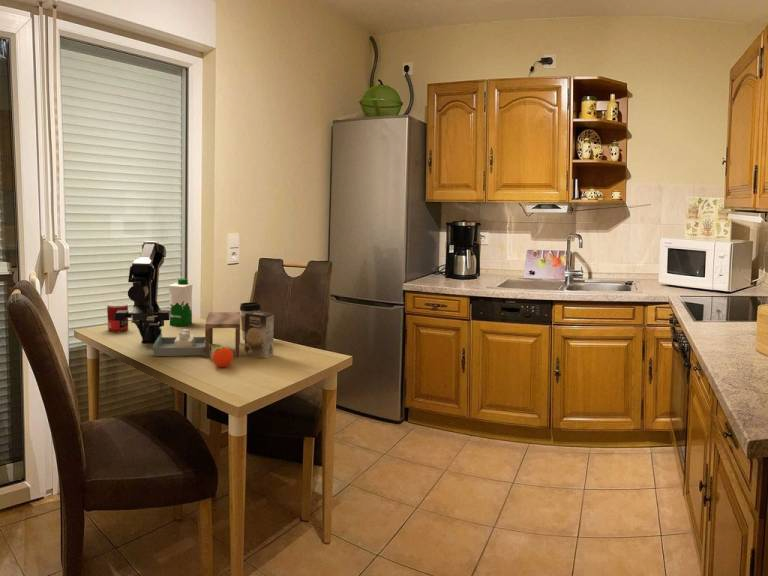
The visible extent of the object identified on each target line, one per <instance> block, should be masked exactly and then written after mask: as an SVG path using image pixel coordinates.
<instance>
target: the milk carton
mask: <svg viewBox="0 0 768 576" xmlns="http://www.w3.org/2000/svg"><path fill="white" fill-rule="evenodd" d="M167 287H168V292H169V311H170V312H171V318H170V320H169V326H174V325H176V326H175V327H185V326H189V325H191V324H192V323H193V297H192V296H193V283H189V282H188V279H187V278H178V279H177V282H175V283H173V284H172V283H171V284H169V285H168V286H167ZM188 324H189V325H188Z"/></svg>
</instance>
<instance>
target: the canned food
mask: <svg viewBox="0 0 768 576" xmlns="http://www.w3.org/2000/svg"><path fill="white" fill-rule="evenodd" d="M106 306H107V307H106V309H107V310H106V312H107V329H108V331H109V332H111V331H114V332H113V333H119V332H118V331H122V332H126V331H128V329H129V318H125V319H124V320H123V321H114V314H115V313H116V312H117V311H118V310H128V311H129V304H128V303H126V302H125V303H124V302H111V303H107V305H106ZM125 330H126V331H125Z"/></svg>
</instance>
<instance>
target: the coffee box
mask: <svg viewBox="0 0 768 576" xmlns="http://www.w3.org/2000/svg"><path fill="white" fill-rule="evenodd" d="M274 323H275V313H273V312H267V311H261V310H260V311H251V312H248V313H245V340H244V356H247V357H248V356H249V357H253V358H258V359H259V358H260V359H267V358H269V357H271V356H273V355H274V331H275V330H274V329H275V328H274V326H275V325H274ZM272 354H273V355H272ZM270 355H271V356H270ZM268 356H269V357H268ZM266 357H267V358H266Z"/></svg>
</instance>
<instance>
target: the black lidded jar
mask: <svg viewBox="0 0 768 576" xmlns="http://www.w3.org/2000/svg"><path fill="white" fill-rule="evenodd" d="M239 305H240V306H239V311H240V325H241V331H242V332H241V335H242V340H244V341H245V313H248V312H251V311H261V303H260V302H241V303H240V304H239Z"/></svg>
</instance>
